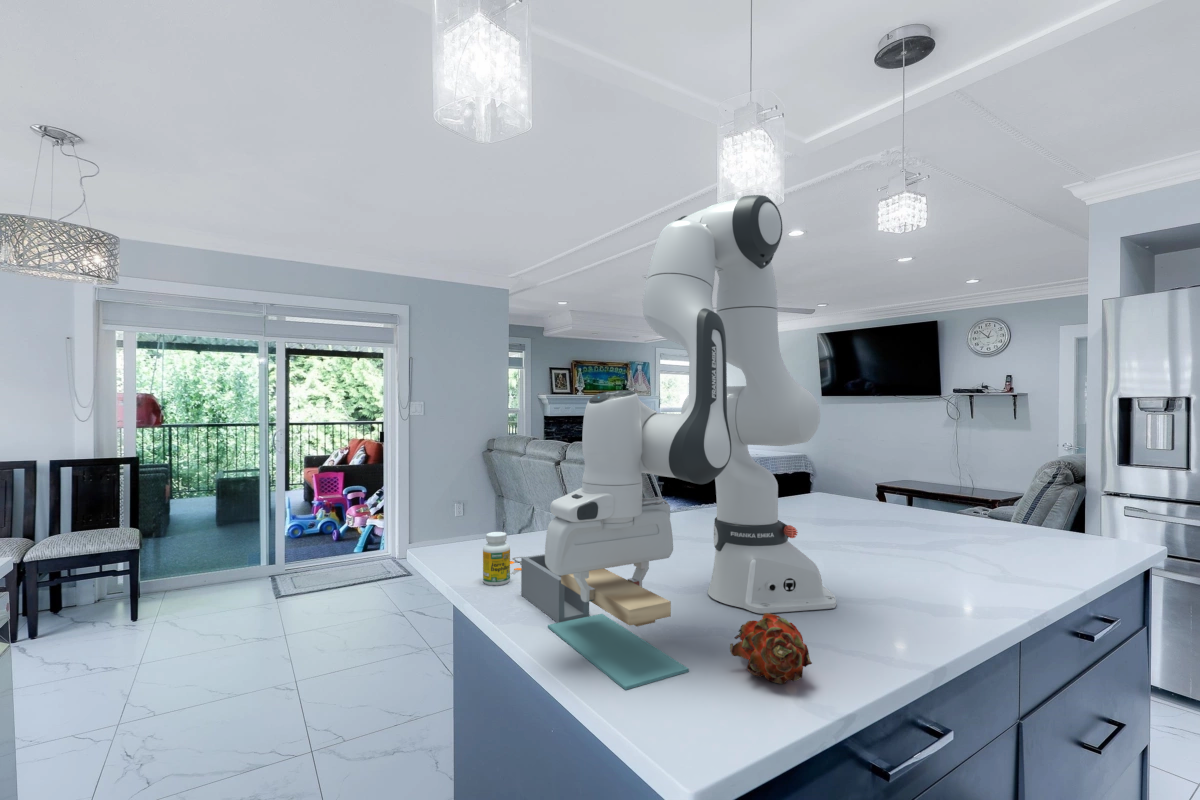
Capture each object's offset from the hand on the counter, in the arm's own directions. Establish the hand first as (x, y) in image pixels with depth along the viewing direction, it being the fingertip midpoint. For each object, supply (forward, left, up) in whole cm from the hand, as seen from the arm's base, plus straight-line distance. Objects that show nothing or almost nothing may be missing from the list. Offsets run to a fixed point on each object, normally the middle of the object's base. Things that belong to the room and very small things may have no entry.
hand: (611, 595), depth 84 cm
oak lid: (0, 0, -1) cm, 1 cm away
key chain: (+19, -43, -8) cm, 48 cm away
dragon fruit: (-21, +8, -8) cm, 23 cm away
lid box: (+10, -17, -8) cm, 21 cm away
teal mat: (0, 0, -8) cm, 8 cm away
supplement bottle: (+22, -31, -8) cm, 39 cm away
